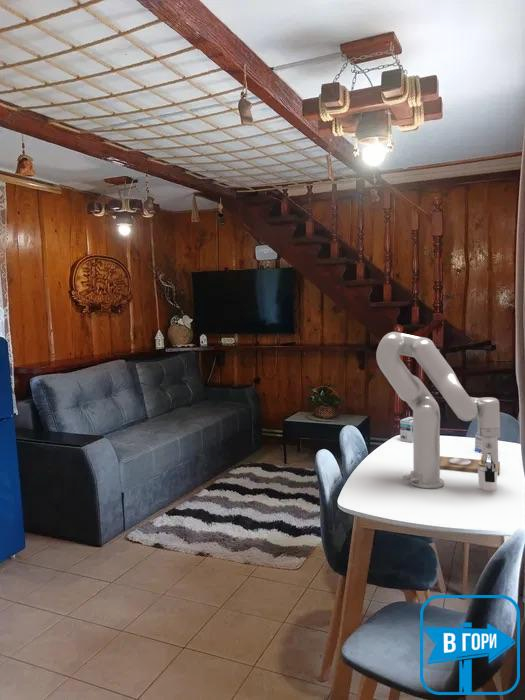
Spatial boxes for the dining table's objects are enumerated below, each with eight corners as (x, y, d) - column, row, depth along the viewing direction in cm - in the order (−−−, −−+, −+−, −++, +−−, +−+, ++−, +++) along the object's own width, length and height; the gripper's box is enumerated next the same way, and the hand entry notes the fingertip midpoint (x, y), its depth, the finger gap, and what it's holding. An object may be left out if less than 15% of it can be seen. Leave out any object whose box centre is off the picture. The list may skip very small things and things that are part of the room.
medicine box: (474, 451, 241) (474, 432, 241) (481, 449, 243) (481, 431, 242) (488, 455, 234) (488, 436, 233) (495, 453, 236) (495, 434, 235)
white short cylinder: (476, 489, 191) (476, 470, 191) (478, 483, 197) (478, 465, 197) (497, 492, 188) (497, 473, 188) (498, 486, 194) (498, 467, 194)
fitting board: (435, 468, 217) (435, 456, 216) (439, 459, 229) (439, 447, 229) (498, 475, 207) (499, 461, 206) (499, 465, 219) (499, 452, 219)
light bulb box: (412, 443, 258) (412, 421, 257) (399, 441, 263) (399, 419, 262) (422, 438, 266) (422, 417, 265) (409, 436, 270) (409, 416, 270)
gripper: (499, 437, 182) (501, 486, 183) (500, 426, 197) (502, 471, 198) (476, 436, 185) (478, 484, 186) (479, 426, 200) (480, 470, 202)
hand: (490, 477), depth 192 cm, fingers open, 9 cm apart
